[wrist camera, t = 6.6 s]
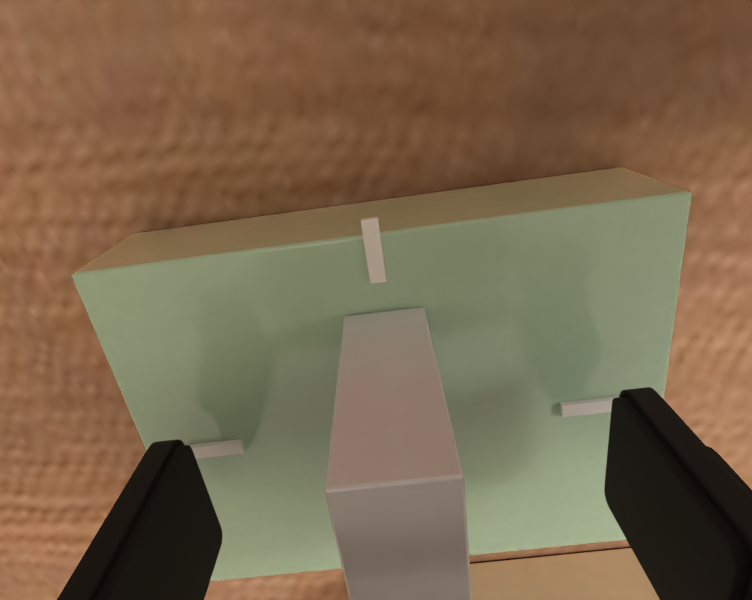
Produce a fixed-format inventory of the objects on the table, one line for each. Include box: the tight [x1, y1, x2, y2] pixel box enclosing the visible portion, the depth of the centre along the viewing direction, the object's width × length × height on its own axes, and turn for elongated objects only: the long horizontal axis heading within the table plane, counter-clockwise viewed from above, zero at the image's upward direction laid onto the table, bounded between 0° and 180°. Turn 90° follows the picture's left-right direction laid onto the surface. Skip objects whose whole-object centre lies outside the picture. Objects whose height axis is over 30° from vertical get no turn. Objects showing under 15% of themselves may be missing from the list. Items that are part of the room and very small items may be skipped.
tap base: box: [72, 167, 692, 582], centre depth 13 cm, size 13×11×3 cm
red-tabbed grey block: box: [324, 307, 472, 600], centre depth 10 cm, size 6×2×5 cm, turn 7°
